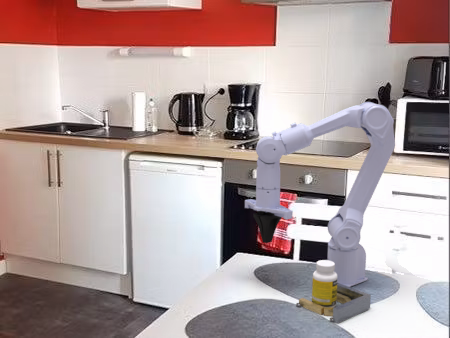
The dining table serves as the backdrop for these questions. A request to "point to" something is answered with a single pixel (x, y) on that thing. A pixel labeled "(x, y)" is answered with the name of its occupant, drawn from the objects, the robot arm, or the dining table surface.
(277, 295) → the dining table surface
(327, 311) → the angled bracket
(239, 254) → the dining table surface
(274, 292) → the dining table surface
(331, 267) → the supplement bottle
